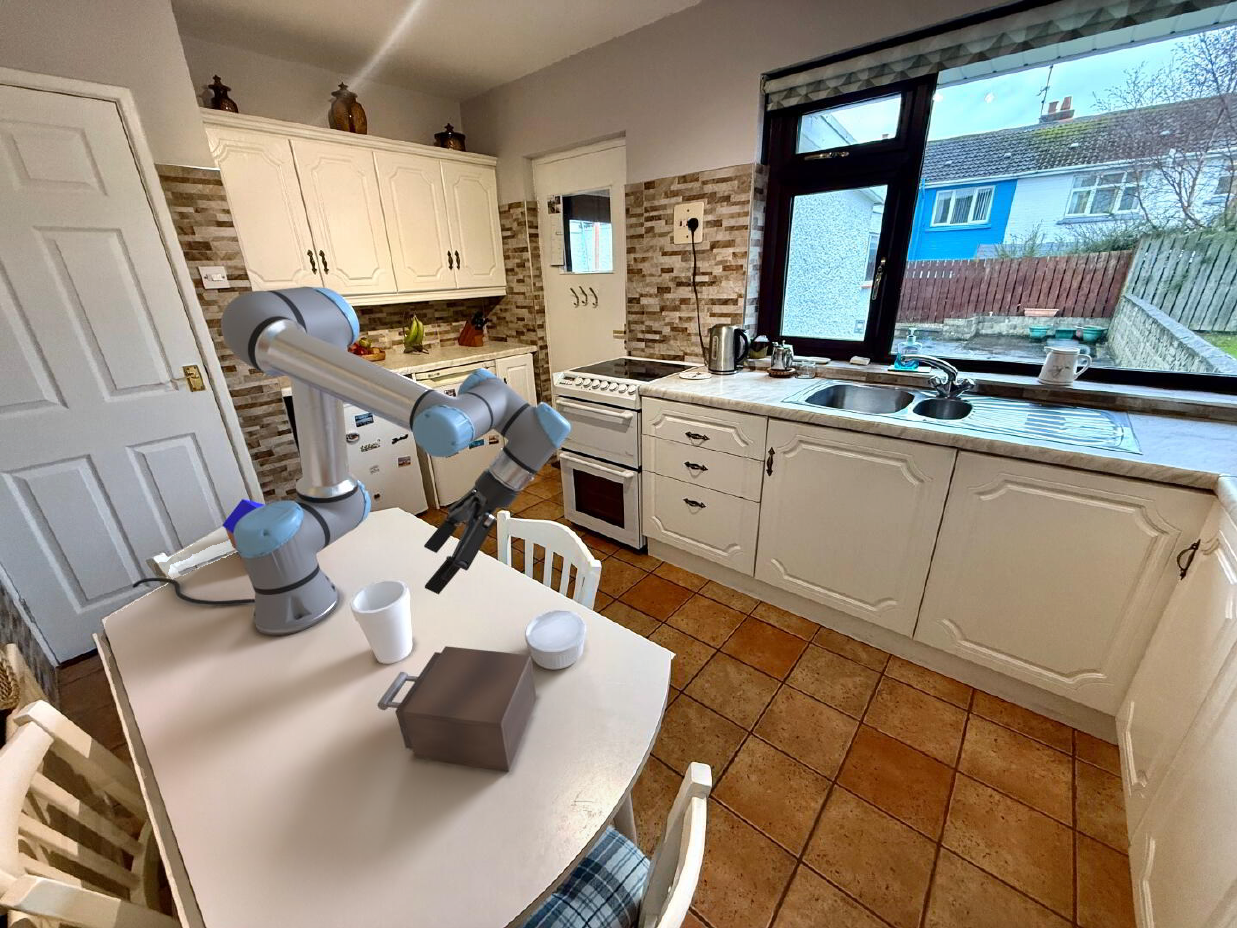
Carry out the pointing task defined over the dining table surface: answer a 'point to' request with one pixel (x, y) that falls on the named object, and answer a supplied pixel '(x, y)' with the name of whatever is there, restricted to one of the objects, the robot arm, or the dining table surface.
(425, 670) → the drawer
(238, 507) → the house
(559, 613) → the ramekin
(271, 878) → the dining table surface
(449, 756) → the cabinet
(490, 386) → the robot arm
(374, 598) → the foam cup
